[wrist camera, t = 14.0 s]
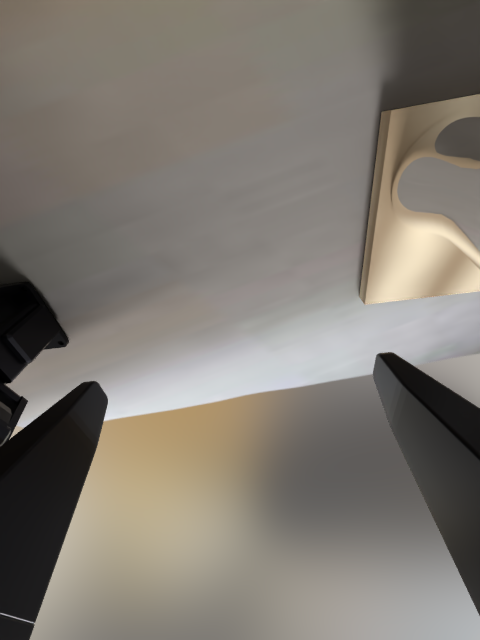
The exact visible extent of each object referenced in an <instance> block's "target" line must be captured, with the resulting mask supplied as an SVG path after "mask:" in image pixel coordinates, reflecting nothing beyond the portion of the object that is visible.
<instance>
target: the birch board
mask: <svg viewBox="0 0 480 640" xmlns="http://www.w3.org/2000/svg"><path fill="white" fill-rule="evenodd" d="M465 112H480V94H476V95H471V96H465V97H460V98H454V99H449V100H444V101H438V102H433V103H427V104H422V105H416V106H411V107H405V108H400V109H394V110H389V111H383V112H382V113H381V121H380V130H379V138H378V146H377V154H376V163H375V171H374V179H373V187H372V196H371V204H370V212H369V221H368V229H367V237H366V245H365V254H364V262H363V270H362V278H361V287H360V295H359V297H360V298H361V300H362V301H363V303H364V304H365V305H366V304H374V303H383V302H391V301H400V300H408V299H417V298H426V297H434V296H443V295H451V294H460V293H469V292H477V291H480V270H479V269H478V268H477V267H476V266H475V265H474V264H473V263H472V262H471V261H470V260H469V258H468V257H467V256H466V255H465V254H464V253H463V252H462V251H461V250H460V249H459V248H458V247H456V246H455V245H454V244H453V243H452V242H451V241H449V240H448V239H446V238H444V237H442V236H439V235H435V234H430V233H425V232H421V231H417V230H414V229H412V228H410V227H408V226H406V225H405V224H404V223H403V222H402V221H401V220H400V219H399V218H398V216H397V215H396V213H395V211H394V208H393V204H392V185H393V181H394V177H395V174H396V171H397V169H398V167H399V165H400V163H401V161H402V159H403V157H404V156H405V154H406V153H407V151H408V150H409V149H410V147H411V146H412V145H413V144H414V143H415V142H416V141H417V139H418V138H419V137H421V136H422V135H423V134H424V133H425V132H426V131H427V130H429V129H430V128H431V127H433V126H434V125H436V124H437V123H439V122H441V121H443V120H445V119H447V118H449V117H451V116H454V115H457V114H460V113H465Z"/></svg>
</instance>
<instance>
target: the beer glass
mask: <svg viewBox="0 0 480 640" xmlns="http://www.w3.org/2000/svg"><path fill="white" fill-rule="evenodd" d="M392 204H393V208H394V211H395V213H396V215H397V216H398V218H399V219H400V220H401V221H402V222H403V223H404V224H405V225H406V226H408V227H410V228H412V229H414V230H417V231H421V232H425V233H430V234H435V235H439V236H442V237H444V238H446V239H448V240H449V241H451V242H452V243H453V244H454V245H455V246H456V247H458V248H459V249H460V250H461V251H462V252H463V253H464V254H465V255H466V256H467V257H468V258H469V260H470V261H471V262H472V263H473V264H474V265H475V266H476V267H477V268H478V269H479V270H480V112H465V113H460V114H457V115H454V116H451V117H449V118H447V119H445V120H443V121H441V122H439V123H437V124H436V125H434V126H433V127H431V128H430V129H429V130H427V131H426V132H425V133H424V134H423V135H422V136H421V137H419V138H418V139H417V141H416V142H415V143H414V144H413V145H412V146H411V147H410V149H409V150H408V151H407V153H406V154H405V156H404V157H403V159H402V161H401V163H400V165H399V167H398V169H397V171H396V174H395V177H394V181H393V185H392Z"/></svg>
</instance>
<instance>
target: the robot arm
mask: <svg viewBox="0 0 480 640" xmlns="http://www.w3.org/2000/svg"><path fill="white" fill-rule="evenodd" d="M25 288H26V289H27V290H26V289H25ZM68 343H69V340H68V338H67V337H66V335H65V334H64V332H63V331H62V329H61V328H60V326H59V325H58V323H57V322H56V321H55V319H54V318H53V316H52V315H51V313H50V312H49V310H48V309H47V307H46V306H45V304H44V303H43V301H42V300H41V298H40V297H39V295H38V294H37V292H36V291H35V289H34V288H33V286H32V285H31V284H29V283H27V282H19V283H12V284H5V285H0V640H29V639H30V636H31V633H32V630H33V628H34V623H35V621H36V618H37V616H38V613H39V610H40V607H41V605H42V602H43V599H44V596H45V593H46V590H47V588H48V585H49V582H50V579H51V576H52V573H53V570H54V568H55V565H56V562H57V559H58V556H59V553H60V551H61V548H62V545H63V542H64V539H65V536H66V534H67V531H68V528H69V525H70V522H71V520H72V517H73V514H74V511H75V508H76V505H77V503H78V500H79V497H80V494H81V491H82V488H83V486H84V483H85V480H86V477H87V474H88V471H89V469H90V466H91V463H92V460H93V457H94V454H95V451H96V448H97V445H98V441H99V437H100V433H101V429H102V425H103V421H104V417H105V413H106V409H107V404H108V398H107V396H106V394H105V393H104V391H103V390H102V388H101V387H100V385H99V384H98V383H97V382H96V381H90V382H83V383H81V384H80V385H79V386H77V387H76V388H75V389H74V390H72V391H71V392H70V393H68V394H67V395H66V396H65V397H63V398H62V399H61V400H59V401H58V402H57V403H56V404H54V405H53V406H52V407H50V408H49V409H48V410H47V411H45V412H44V413H43V414H41V415H40V416H39V417H38V418H36V419H35V420H34V421H33V422H31V423H30V424H29V425H27V426H26V427H25V428H24V429H22V430H21V431H20V432H18V433H17V434H16V435H15V436H13V437H12V438H11V439H10V437H11V435H12V433H13V431H14V429H15V427H16V425H17V422H18V420H19V418H20V416H21V414H22V412H23V410H24V408H25V406H26V404H27V402H28V400H26V399H25V398H24V397H23V396H21V397H20V396H19V395H18V394H16V393H15V392H14V391H13V390H11V389H10V388H9V387H8V386H6V384H7V383H11V382H12V381H13V380H14V379H15V378H16V377H17V376H18V375H19V374H20V373H21V371H22V370H23V369H24V368H25V367H26V366H27V365H28V364H29V363H31V362H32V361H33V360H34V359H35V358H36V357H37V356H38V355H39V354H40V353H41V351H42V350H43V349H52V348H61V347H66V346H67V344H68ZM373 378H374V381H375V384H376V387H377V390H378V393H379V396H380V399H381V402H382V405H383V408H384V410H385V413H386V416H387V419H388V422H389V425H390V427H391V429H392V432H393V434H394V436H395V438H396V440H397V442H398V445H399V447H400V449H401V451H402V453H403V455H404V457H405V459H406V461H407V464H408V466H409V468H410V470H411V472H412V474H413V476H414V478H415V480H416V482H417V484H418V487H419V489H420V491H421V493H422V495H423V497H424V499H425V501H426V503H427V506H428V508H429V510H430V512H431V514H432V516H433V518H434V520H435V522H436V525H437V527H438V528H439V531H440V533H441V535H442V537H443V539H444V542H445V544H446V546H447V548H448V550H449V552H450V554H451V556H452V558H453V560H454V563H455V565H456V567H457V568H458V571H459V573H460V575H461V577H462V579H463V582H464V584H465V586H466V588H467V590H468V592H469V594H470V596H471V598H472V601H473V603H474V605H475V607H476V609H477V611H478V613H479V615H480V408H478V407H477V406H475V405H474V404H472V403H471V402H469V401H468V400H466V399H464V398H463V397H461V396H460V395H458V394H457V393H455V392H453V391H452V390H450V389H449V388H447V387H446V386H444V385H442V384H441V383H439V382H438V381H436V380H435V379H433V378H432V377H430V376H429V375H427V374H425V373H424V372H422V371H421V370H419V369H418V368H416V367H415V366H413V365H412V364H410V363H408V362H407V361H405V360H404V359H402V358H401V357H399V356H398V355H396V354H394V353H392V352H388V353H379V354H377V356H376V360H375V365H374V370H373ZM9 439H10V440H9Z"/></svg>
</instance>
